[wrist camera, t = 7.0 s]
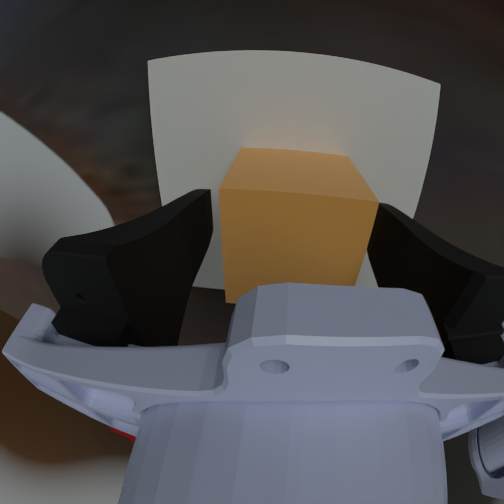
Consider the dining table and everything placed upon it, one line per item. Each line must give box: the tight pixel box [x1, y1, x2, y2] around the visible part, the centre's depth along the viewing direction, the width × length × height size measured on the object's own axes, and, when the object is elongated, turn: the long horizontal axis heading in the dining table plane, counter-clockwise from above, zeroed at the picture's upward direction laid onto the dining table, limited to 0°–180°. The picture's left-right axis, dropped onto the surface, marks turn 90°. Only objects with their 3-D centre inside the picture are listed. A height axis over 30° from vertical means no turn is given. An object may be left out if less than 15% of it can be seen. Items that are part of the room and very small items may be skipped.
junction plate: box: [148, 50, 441, 289], centre depth 12 cm, size 14×14×4 cm
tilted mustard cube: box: [219, 147, 379, 304], centre depth 11 cm, size 5×5×5 cm
